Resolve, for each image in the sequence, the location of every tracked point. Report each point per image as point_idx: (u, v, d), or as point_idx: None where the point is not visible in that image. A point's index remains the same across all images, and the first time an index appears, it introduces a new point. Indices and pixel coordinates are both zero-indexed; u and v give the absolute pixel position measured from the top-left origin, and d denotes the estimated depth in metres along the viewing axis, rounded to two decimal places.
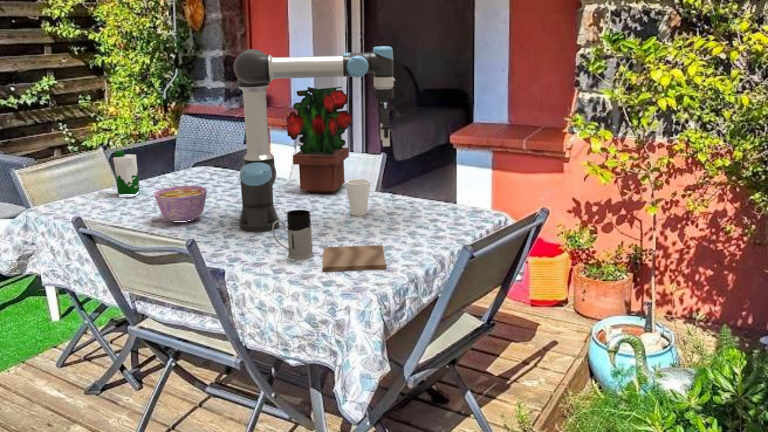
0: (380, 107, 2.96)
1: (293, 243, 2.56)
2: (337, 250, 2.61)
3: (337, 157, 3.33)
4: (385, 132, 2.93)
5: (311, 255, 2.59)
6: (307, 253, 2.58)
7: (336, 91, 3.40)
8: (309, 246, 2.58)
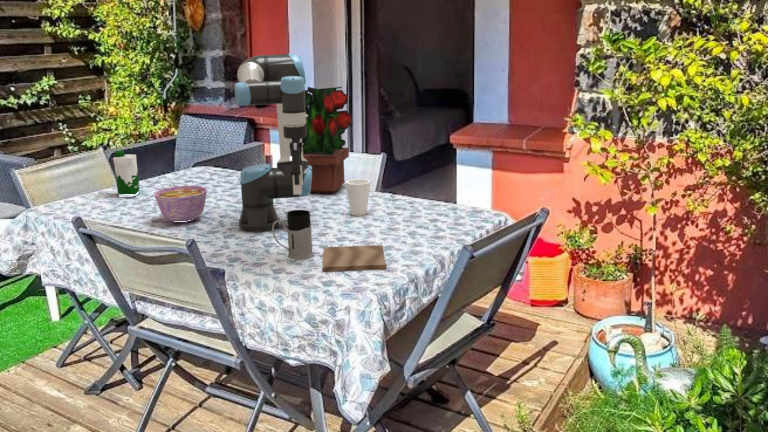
0: (290, 148, 2.50)
1: (293, 243, 2.56)
2: (337, 250, 2.61)
3: (337, 157, 3.33)
4: (295, 178, 2.47)
5: (311, 255, 2.59)
6: (307, 253, 2.58)
7: (336, 91, 3.40)
8: (309, 246, 2.58)
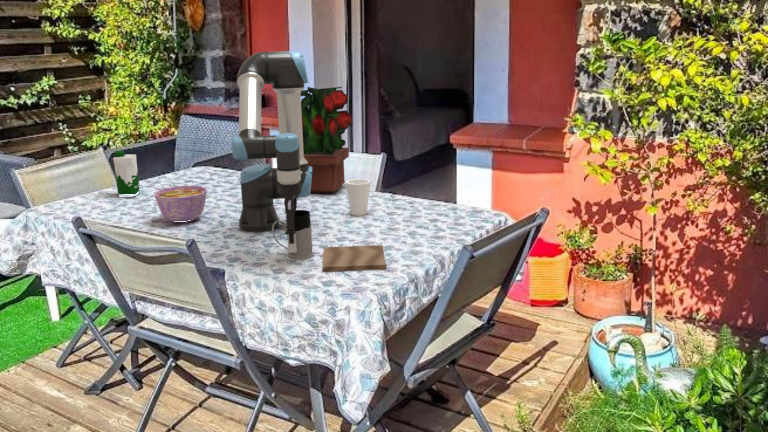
0: (285, 205, 2.52)
1: None
2: (337, 250, 2.61)
3: (337, 157, 3.33)
4: (290, 237, 2.52)
5: (311, 255, 2.59)
6: (307, 253, 2.58)
7: (336, 91, 3.40)
8: (309, 246, 2.58)
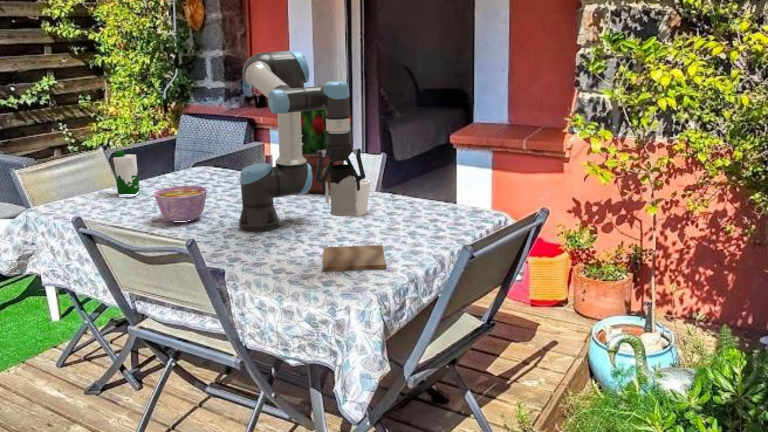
0: None
1: None
2: (337, 250, 2.61)
3: None
4: (321, 185, 2.48)
5: (339, 214, 2.45)
6: (334, 210, 2.46)
7: None
8: (337, 203, 2.45)
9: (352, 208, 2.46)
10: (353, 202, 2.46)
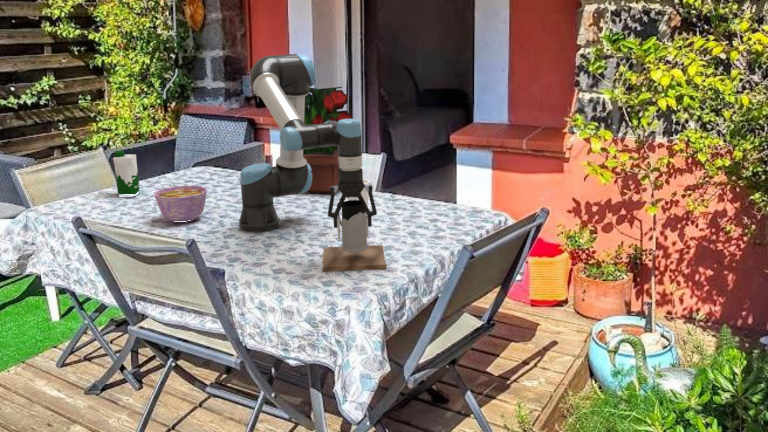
0: None
1: None
2: (337, 250, 2.61)
3: (337, 157, 3.33)
4: None
5: (348, 249, 2.48)
6: (345, 245, 2.49)
7: (336, 91, 3.40)
8: (347, 239, 2.48)
9: (362, 244, 2.49)
10: (363, 238, 2.49)
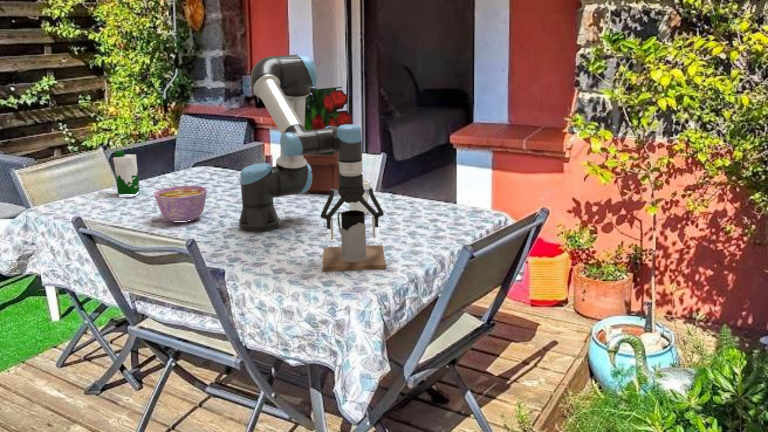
0: None
1: None
2: (337, 250, 2.61)
3: (337, 157, 3.33)
4: None
5: (348, 259, 2.50)
6: (344, 255, 2.50)
7: (336, 91, 3.40)
8: (346, 249, 2.49)
9: (361, 254, 2.50)
10: (363, 248, 2.50)
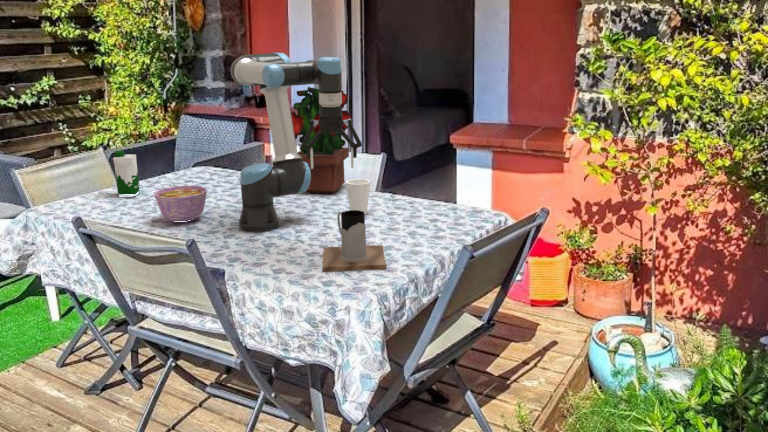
0: None
1: None
2: (337, 250, 2.61)
3: (337, 157, 3.33)
4: (307, 151, 2.62)
5: (348, 259, 2.50)
6: (344, 255, 2.50)
7: None
8: (346, 249, 2.49)
9: (361, 254, 2.50)
10: (362, 248, 2.50)
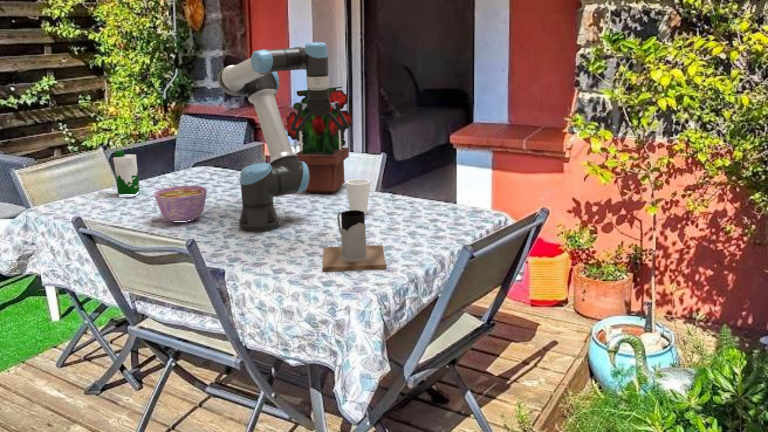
0: None
1: None
2: (337, 250, 2.61)
3: (337, 157, 3.33)
4: (296, 134, 2.72)
5: (348, 259, 2.50)
6: (344, 255, 2.50)
7: (336, 91, 3.40)
8: (346, 249, 2.49)
9: (361, 254, 2.50)
10: (362, 248, 2.50)
